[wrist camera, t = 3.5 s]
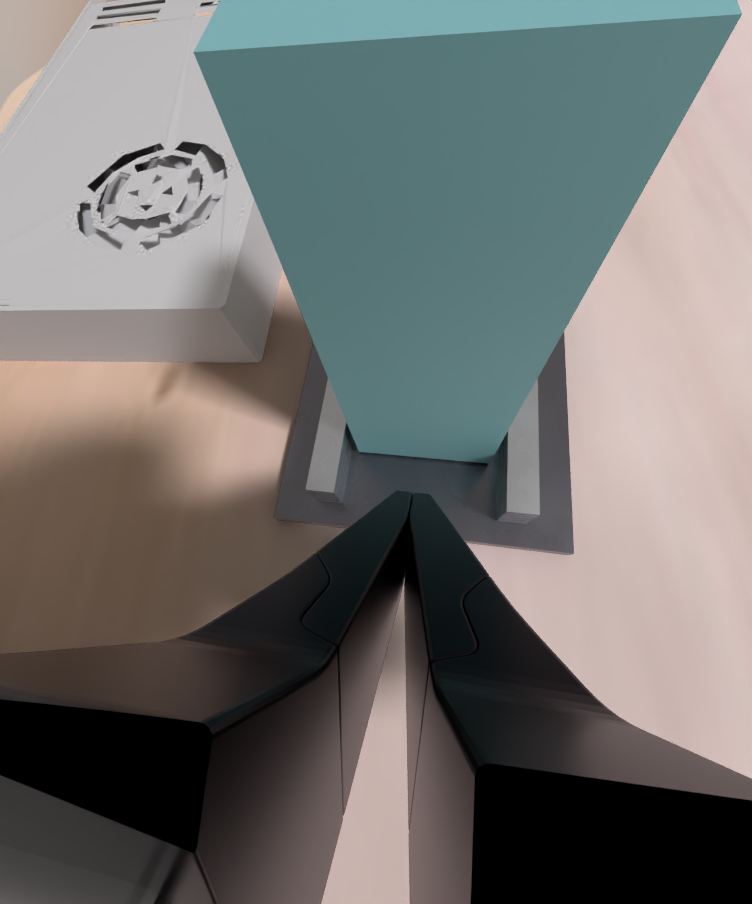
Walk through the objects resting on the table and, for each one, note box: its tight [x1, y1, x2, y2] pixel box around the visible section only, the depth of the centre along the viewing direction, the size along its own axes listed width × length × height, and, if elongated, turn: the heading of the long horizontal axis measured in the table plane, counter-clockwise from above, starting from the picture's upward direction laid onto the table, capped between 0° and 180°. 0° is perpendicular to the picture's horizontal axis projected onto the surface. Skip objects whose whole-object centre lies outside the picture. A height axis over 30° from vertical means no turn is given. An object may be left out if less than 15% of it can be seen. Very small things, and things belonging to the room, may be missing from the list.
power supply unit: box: [0, 0, 282, 363], centre depth 26 cm, size 19×33×5 cm, turn 175°
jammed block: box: [193, 0, 742, 464], centre depth 12 cm, size 5×6×14 cm
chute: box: [274, 332, 574, 555], centre depth 18 cm, size 18×13×4 cm
